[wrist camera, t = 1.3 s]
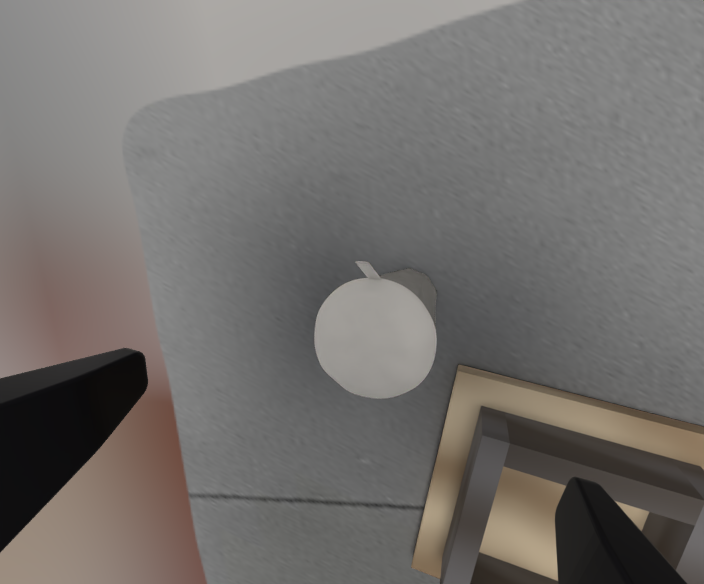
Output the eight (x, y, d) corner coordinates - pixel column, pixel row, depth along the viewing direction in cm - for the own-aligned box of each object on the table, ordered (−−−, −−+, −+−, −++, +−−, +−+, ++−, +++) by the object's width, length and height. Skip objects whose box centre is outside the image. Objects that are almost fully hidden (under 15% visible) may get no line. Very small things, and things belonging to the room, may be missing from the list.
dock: (648, 644, 22) (684, 735, 18) (413, 554, 25) (402, 614, 21) (739, 435, 19) (806, 491, 15) (458, 364, 22) (455, 395, 18)
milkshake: (454, 243, 21) (439, 267, 11) (445, 341, 22) (424, 436, 12) (370, 238, 22) (293, 255, 13) (366, 331, 23) (291, 410, 14)
